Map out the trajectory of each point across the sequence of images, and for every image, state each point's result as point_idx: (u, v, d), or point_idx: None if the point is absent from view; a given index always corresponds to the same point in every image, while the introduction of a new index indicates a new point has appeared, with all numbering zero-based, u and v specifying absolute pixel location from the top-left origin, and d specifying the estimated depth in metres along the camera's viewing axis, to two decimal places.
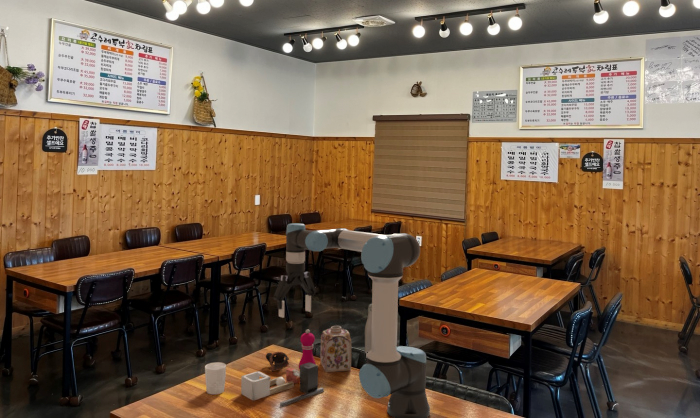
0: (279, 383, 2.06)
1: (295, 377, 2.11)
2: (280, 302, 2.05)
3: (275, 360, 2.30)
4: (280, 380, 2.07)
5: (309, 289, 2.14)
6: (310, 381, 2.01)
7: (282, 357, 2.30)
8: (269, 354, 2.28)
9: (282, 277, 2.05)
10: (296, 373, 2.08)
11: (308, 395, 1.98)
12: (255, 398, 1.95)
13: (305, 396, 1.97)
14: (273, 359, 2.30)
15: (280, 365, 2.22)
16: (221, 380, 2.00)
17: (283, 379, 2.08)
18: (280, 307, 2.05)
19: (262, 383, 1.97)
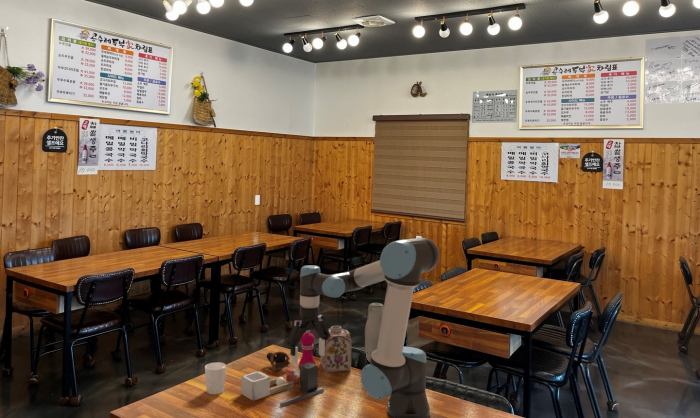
0: (279, 383, 2.06)
1: (295, 377, 2.11)
2: (293, 348, 1.97)
3: (276, 360, 2.31)
4: (280, 380, 2.07)
5: (323, 333, 2.06)
6: (310, 381, 2.01)
7: (283, 357, 2.31)
8: (270, 354, 2.29)
9: (296, 322, 1.97)
10: (296, 373, 2.08)
11: (308, 395, 1.98)
12: (255, 398, 1.95)
13: (305, 396, 1.97)
14: (274, 359, 2.30)
15: (281, 365, 2.22)
16: (221, 380, 2.00)
17: (283, 379, 2.08)
18: (293, 353, 1.97)
19: (262, 383, 1.97)
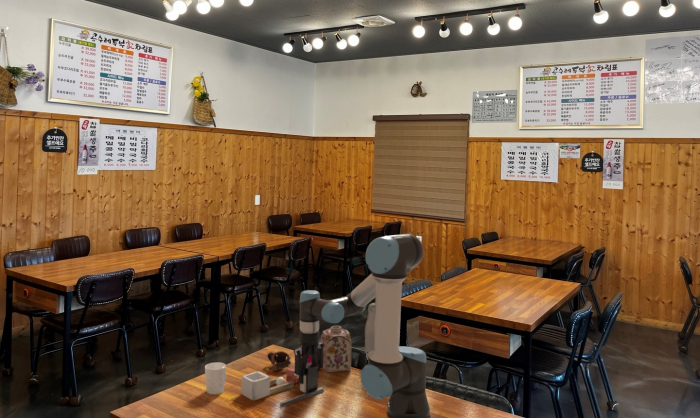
0: (279, 383, 2.06)
1: (295, 377, 2.11)
2: (302, 377, 2.00)
3: (277, 360, 2.31)
4: (280, 380, 2.07)
5: (317, 363, 2.05)
6: (310, 381, 2.01)
7: (284, 356, 2.31)
8: (271, 354, 2.29)
9: (296, 352, 1.98)
10: None
11: (308, 395, 1.98)
12: (255, 398, 1.95)
13: (305, 396, 1.97)
14: (275, 359, 2.30)
15: (282, 364, 2.23)
16: (221, 380, 2.00)
17: (283, 379, 2.08)
18: (302, 382, 2.01)
19: (262, 383, 1.97)
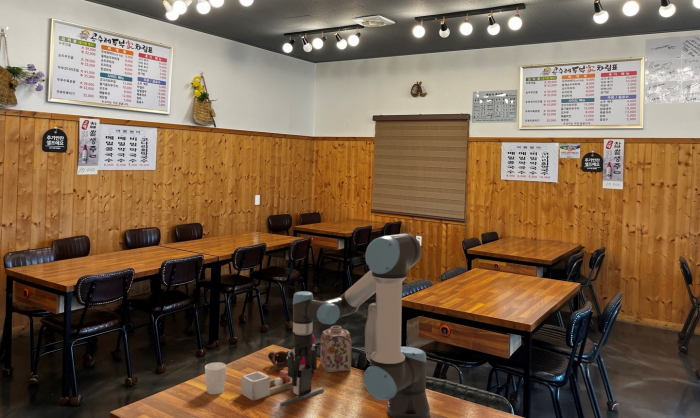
0: (278, 385, 2.06)
1: (289, 379, 2.08)
2: (295, 379, 1.98)
3: (277, 359, 2.31)
4: (278, 382, 2.06)
5: (311, 365, 2.03)
6: (303, 383, 1.99)
7: (284, 356, 2.31)
8: (271, 353, 2.29)
9: (289, 354, 1.96)
10: None
11: (308, 395, 1.98)
12: (255, 398, 1.95)
13: (305, 396, 1.97)
14: (275, 358, 2.30)
15: (283, 364, 2.23)
16: (221, 380, 2.00)
17: (280, 380, 2.07)
18: (295, 384, 1.98)
19: (262, 383, 1.97)
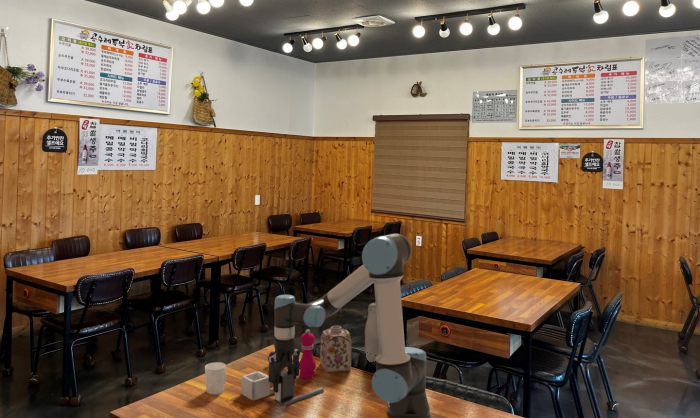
0: None
1: (271, 385, 2.02)
2: (276, 385, 1.92)
3: None
4: None
5: (293, 371, 1.97)
6: (285, 389, 1.93)
7: None
8: (272, 353, 2.29)
9: (270, 359, 1.90)
10: None
11: (308, 395, 1.98)
12: (255, 398, 1.95)
13: (305, 396, 1.97)
14: None
15: (284, 364, 2.23)
16: (221, 380, 2.00)
17: None
18: (276, 390, 1.92)
19: (262, 383, 1.97)
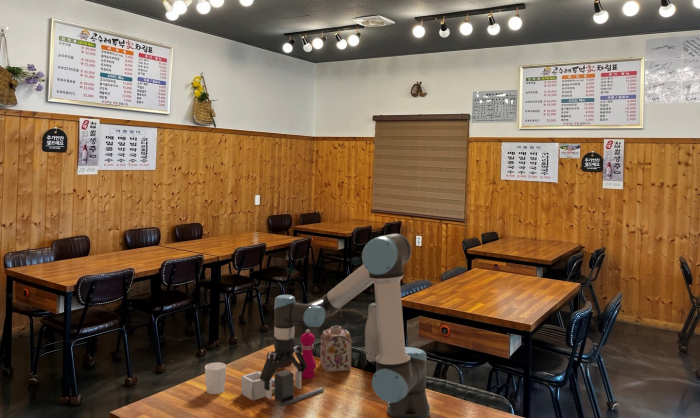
0: None
1: None
2: (267, 382, 1.89)
3: None
4: None
5: (299, 365, 1.99)
6: (285, 389, 1.93)
7: None
8: None
9: (269, 355, 1.90)
10: None
11: (308, 395, 1.98)
12: (255, 398, 1.95)
13: (305, 396, 1.97)
14: None
15: (285, 364, 2.24)
16: (221, 380, 2.00)
17: None
18: (267, 388, 1.89)
19: (262, 383, 1.97)
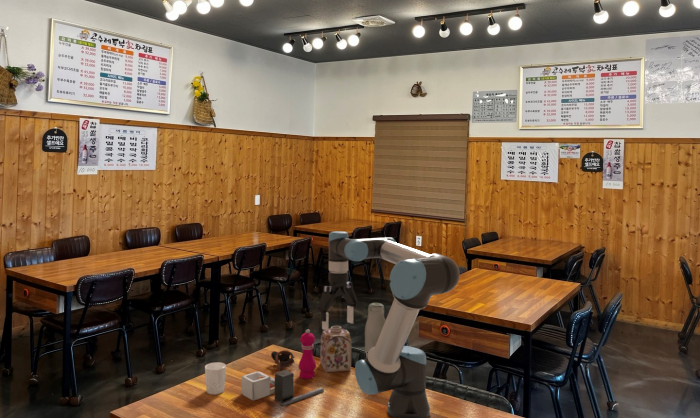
0: None
1: (270, 385, 2.02)
2: (324, 314, 1.96)
3: (280, 358, 2.32)
4: None
5: (351, 300, 2.06)
6: (285, 389, 1.93)
7: (287, 355, 2.33)
8: (274, 353, 2.30)
9: (326, 288, 1.96)
10: (271, 381, 2.00)
11: (308, 395, 1.98)
12: (255, 398, 1.95)
13: (305, 396, 1.97)
14: (278, 357, 2.32)
15: (286, 363, 2.24)
16: (221, 380, 2.00)
17: None
18: (324, 319, 1.96)
19: (262, 383, 1.97)
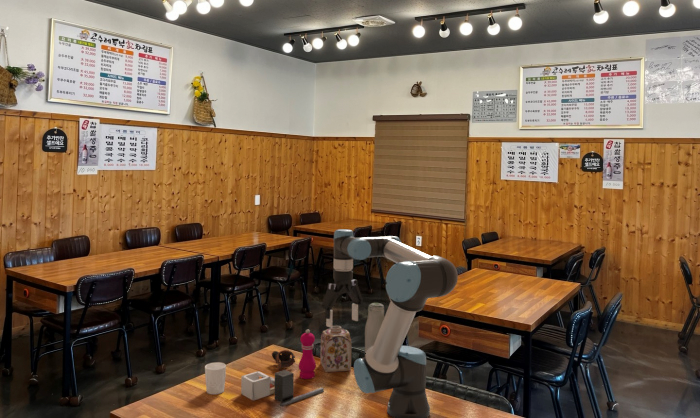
0: None
1: (270, 385, 2.02)
2: (328, 311, 1.97)
3: (281, 358, 2.33)
4: None
5: (356, 297, 2.06)
6: (285, 389, 1.93)
7: (288, 355, 2.33)
8: (275, 352, 2.31)
9: (330, 285, 1.97)
10: (271, 381, 2.00)
11: (308, 395, 1.98)
12: (255, 398, 1.95)
13: (305, 396, 1.97)
14: (279, 357, 2.32)
15: (287, 363, 2.25)
16: (221, 380, 2.00)
17: None
18: (328, 317, 1.97)
19: (262, 383, 1.97)
